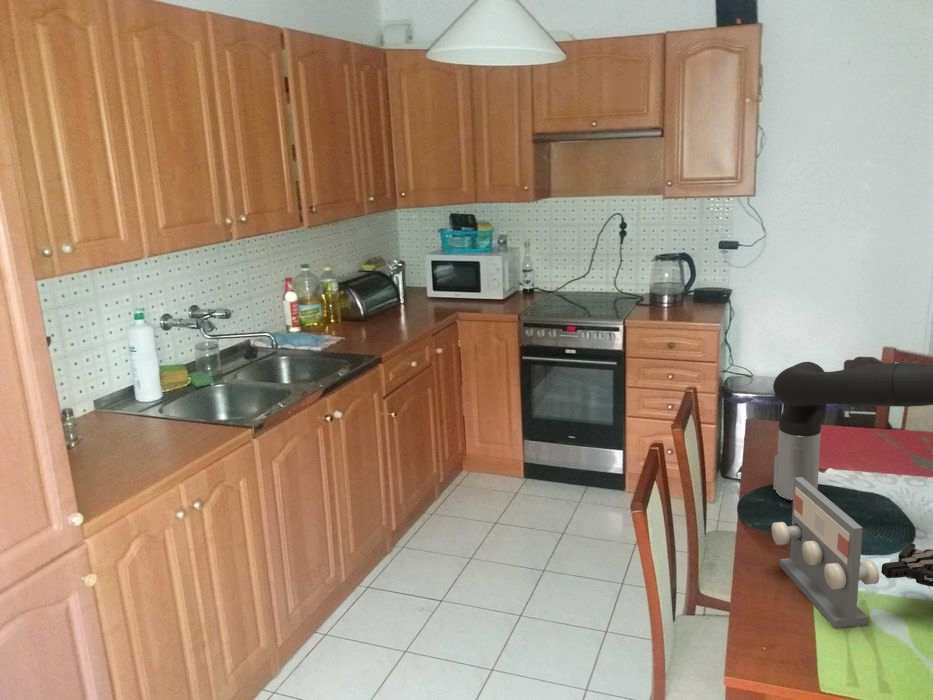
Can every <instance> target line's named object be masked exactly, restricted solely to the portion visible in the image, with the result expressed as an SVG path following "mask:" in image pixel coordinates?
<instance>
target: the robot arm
mask: <svg viewBox="0 0 933 700" xmlns="http://www.w3.org/2000/svg"><path fill="white" fill-rule="evenodd" d="M772 389H773V393H774V394H775V396H776V397H777V399H778V400H779V401H780V402H782V403H783V404H785V409H784V411H783V412H782V413H781V414H780V416H779V420H778V439H777V440H778V441H777V443H778V444H777V454H774V461H773V462H774V463H773V464H774V465H773V486H772V487H773V488H772V490H773V489H774V490H776V492H775V494H776V493H777V494H778V495H779V496H781V497H783V498H786V499H790V500H793V493H794V478H797V477H803V478H804V479H805V480H806V481H807V482H809V483H810V484H811V485H812V486H813V487H815V488H816V489H817V490H818V485H819V484H818V483H819V473H820V472H819V470H820V453H821V438H822V437H821V434H822V424H823V423H824V420H825V417H826V413H827V405H832V404H833V405H834V404H835V405H836V404H837V405H849V406H850V405H851V406H852V405H853V406H876V407H902V408H904V407H924V406H925V407H927V406H933V364H929V363H921V362H920V363H919V362H883V363H882V362H881V363H874V364H873V363H872V364H867V365H861V366H855V367H851V368H846V369H841V370H835V371H825V370H824V369H823V368H822V367H821V366H820V365H819V364H817V363H815V362H811V361H801V362H799V363H796V364H794V365H792V366H789V367H788V368H785V369H784V370H782V371H781V372H780V373H779V374H778V375H777V376H775V379H774V381H773V387H772ZM774 490H773V491H774ZM897 558H898V559H897V561H891V562H890V561H889V562H884V563H882V565H881V571H880V573H881V574H882V575H883V576H885V578H887V579H898V578H899V579H900V578H907V579H909V580H915V583H917V584H919V585H922V586H925V587H926V586H928V587H931V588H933V549H932V548H927V549H924V550H922V549H918V548H916V544H915V543H912V542H911V543H909V542H908V543H907V545H905V547H904V548H902V550H901V551H900V552H899V553H898V557H897Z"/></svg>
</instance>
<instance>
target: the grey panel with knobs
mask: <svg viewBox="0 0 933 700" xmlns="http://www.w3.org/2000/svg"><path fill="white" fill-rule="evenodd" d="M791 513H792V515H791V517H792V518H791V520H792V521H791V526H797V525H799V526H800V527H801V528H802V538H793V539H790V555H789V557H788V558H780V559H779V565H778V566H779V567H780V569H781V570H783V572H784V573H785V574H786V575H787V577H788V578H790V580H791V581H792V582H793V584H795V585H796V587H797V588H798V589H799V590H800V592H801V593H803V594H804V596H805V597H806V598H807V599H808V601H809V602H810V603H811V604H812V605H813V606H814V607H815V608H816V609H817V610H818V611H819V612H820V614H821V615H822V616H823V617H824V618H825V620H826V621H828V623H829V622H830V623H831V624H830V623H829V624H830V625H831V626H832V627H833V628H834V629H840V628H839V627H843V628H847V627H846V626H853V627H858V626H857V625H862V626H868V616H867V615H866V614H865V613H864V612H863V611H862V610H861V608H860V607H858V606H857V605H858V593H859V582H860V581H859V569H860V562H861V554H862V553H861V552H862V543H863V541H862V540H863V529H864V528H863V527H862V526H861V524H859V523H857V522H856V520H854V519H853V518H852V517H851V516H849V515H848V514H847V513H846V512H844V511H843V509H841V508H840V507H839V506H837V505H836V504H835V503H834V502H832V501H831V500H830V499H829V498H828V497H827V496H825V495H824V494H823V493H822V492H821V491H819V490H818V488H817V489H816V488H815V487H813V486H812V485H811V484H810V483H809V482H807V481H806V480H805V479H804V478H803V477H797V478H794V493H793V502H792V512H791ZM805 541H816V542H817V543H818V544H819V546H820V547H822V548H823V559H822V562H821V564H819V565H808V564H807V563H806V561H805V559H804V557H803V552H802V545H803V543H804V542H805ZM830 563H839V564H840V565H841V566H842V568H843V569H844V570H845V571H846V572H847V581H846V585H845V587H844V588H840V589H831V588H830V587H829V585H828V584H827V582H826V579H825V575H824V567H825V565H826V564H830Z"/></svg>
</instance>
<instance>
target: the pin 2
mask: <svg viewBox="0 0 933 700" xmlns="http://www.w3.org/2000/svg"><path fill="white" fill-rule="evenodd" d="M824 575H825V579H826V582H827V584H828V585H829V587H830V588H831V589H840V588H844V587H845V585H846V581H847V572H846V571H845V570H844V569H843V568H842V566H841V565H840V564H839V563H830V564H826V565H825V567H824ZM860 581H861V582H862V583H863V584H864V585H876V584H878V583H879V581H880V571H879V568H878V566H877V565H876V563H875V562H874V561H873V560H863V561H861V560H860V569H859V582H860Z"/></svg>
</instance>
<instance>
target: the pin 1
mask: <svg viewBox="0 0 933 700" xmlns="http://www.w3.org/2000/svg"><path fill="white" fill-rule="evenodd" d="M771 535H772V538H773V541H774V543H775V544H776V545H777V546H785V545H788V544H789V543H790V542H791V539H793V538H802V528H801V527H800V526H799V525H797V526H792V525H789V526H788V525H787V523H785V522H784V521H778V522H773V523H772V524H771Z"/></svg>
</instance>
